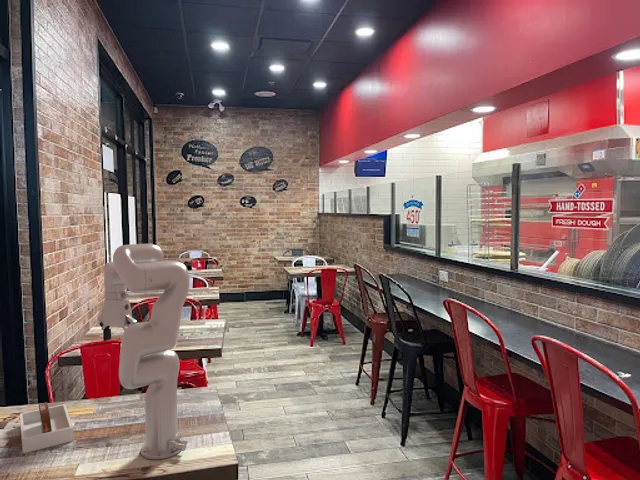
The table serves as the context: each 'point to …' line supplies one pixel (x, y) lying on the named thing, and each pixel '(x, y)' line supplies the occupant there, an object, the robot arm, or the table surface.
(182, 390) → the table surface
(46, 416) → the tin
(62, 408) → the tote
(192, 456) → the table surface
